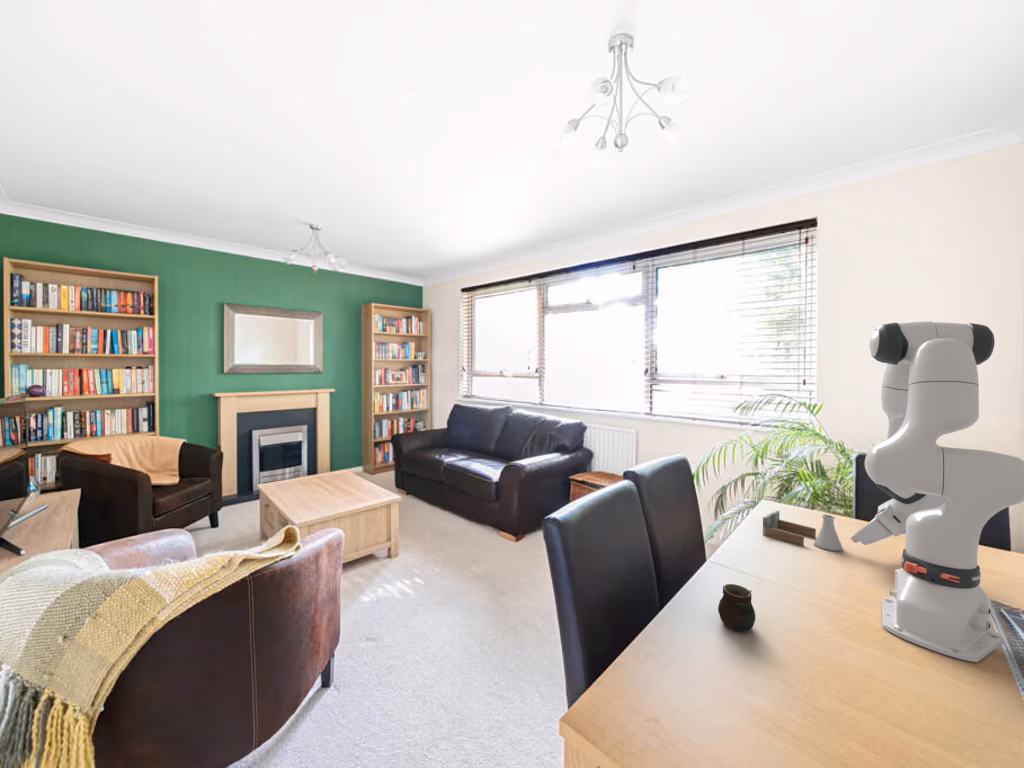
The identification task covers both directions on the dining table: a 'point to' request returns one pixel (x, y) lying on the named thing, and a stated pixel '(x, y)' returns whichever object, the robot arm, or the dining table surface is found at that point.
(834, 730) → the dining table surface
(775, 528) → the slot bay
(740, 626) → the mate gourd
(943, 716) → the dining table surface
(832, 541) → the flask
